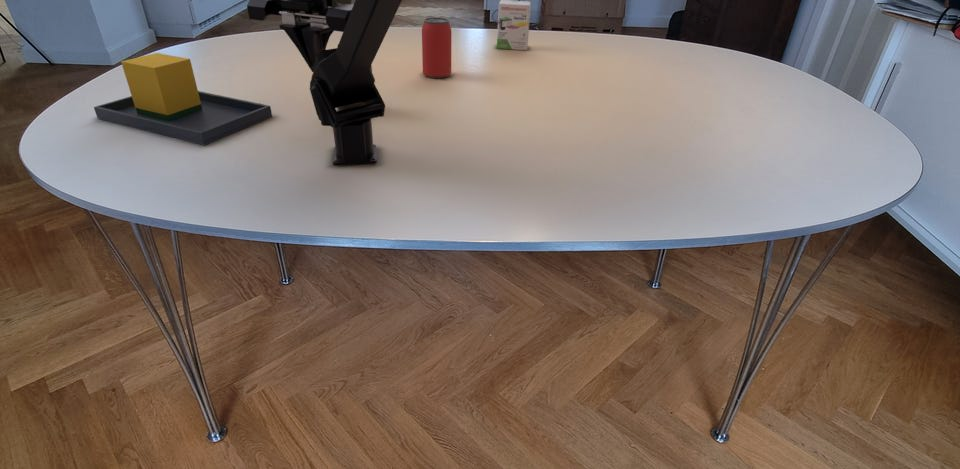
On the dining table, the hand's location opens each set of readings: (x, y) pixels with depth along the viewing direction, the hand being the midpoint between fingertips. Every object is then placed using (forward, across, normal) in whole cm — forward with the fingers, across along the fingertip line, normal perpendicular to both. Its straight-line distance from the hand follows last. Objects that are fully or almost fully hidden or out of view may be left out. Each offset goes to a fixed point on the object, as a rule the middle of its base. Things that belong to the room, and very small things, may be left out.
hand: (316, 72), depth 84 cm
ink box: (+11, -2, -79) cm, 79 cm away
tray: (+11, +27, +4) cm, 30 cm away
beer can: (+11, +2, -44) cm, 45 cm away
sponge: (+10, +31, +4) cm, 33 cm away
